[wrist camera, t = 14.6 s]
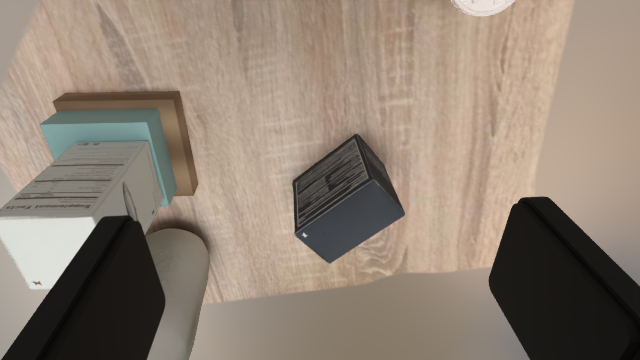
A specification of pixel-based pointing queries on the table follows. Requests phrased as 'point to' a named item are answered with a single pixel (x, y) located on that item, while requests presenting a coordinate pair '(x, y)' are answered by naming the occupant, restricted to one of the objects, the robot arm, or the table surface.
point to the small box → (344, 200)
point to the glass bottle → (178, 290)
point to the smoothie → (481, 6)
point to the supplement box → (77, 205)
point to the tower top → (113, 136)
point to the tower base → (170, 120)
